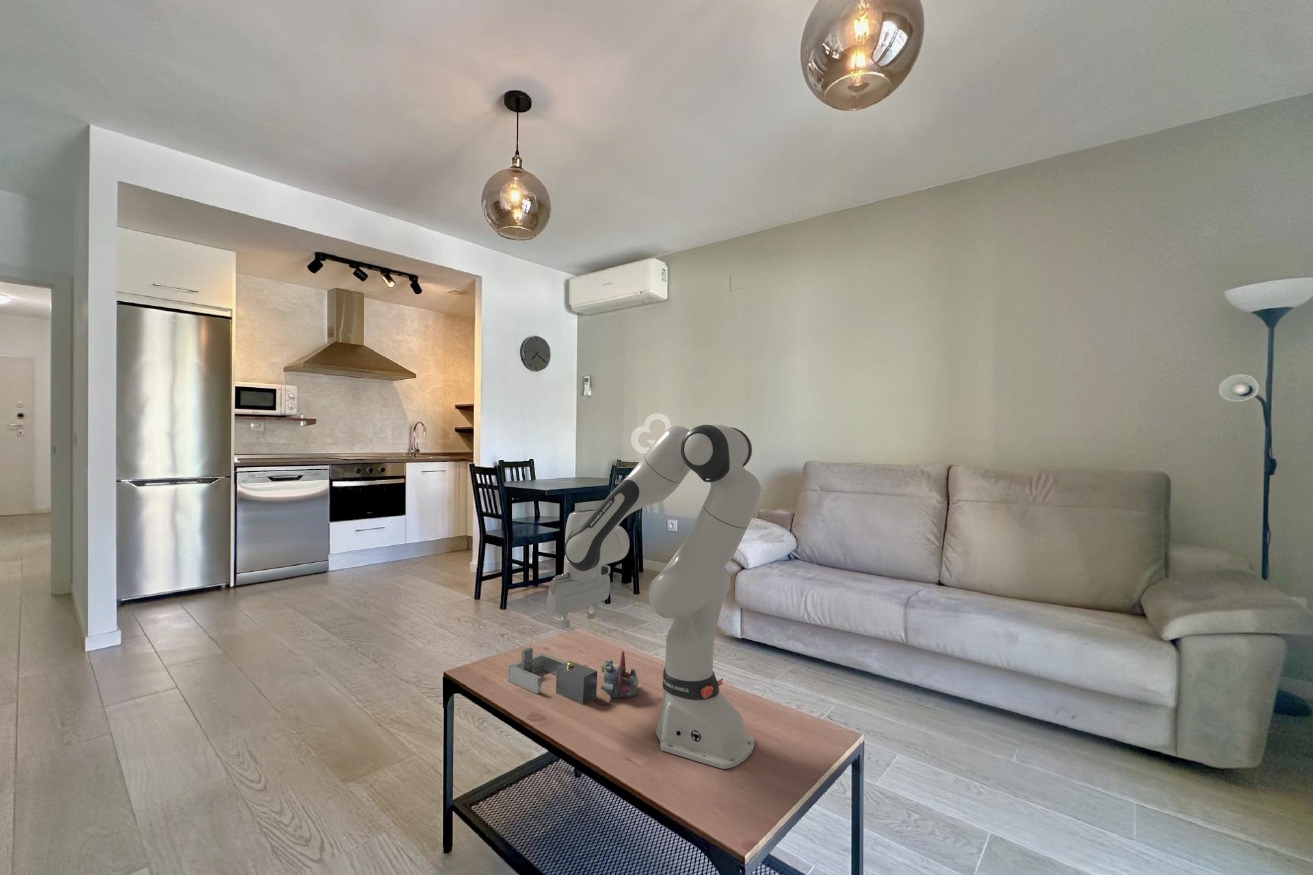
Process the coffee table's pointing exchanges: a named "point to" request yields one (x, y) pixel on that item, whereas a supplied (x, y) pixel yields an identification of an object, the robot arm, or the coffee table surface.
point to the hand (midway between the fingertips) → (578, 622)
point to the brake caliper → (619, 679)
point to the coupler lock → (576, 682)
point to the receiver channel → (532, 669)
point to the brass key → (604, 669)
